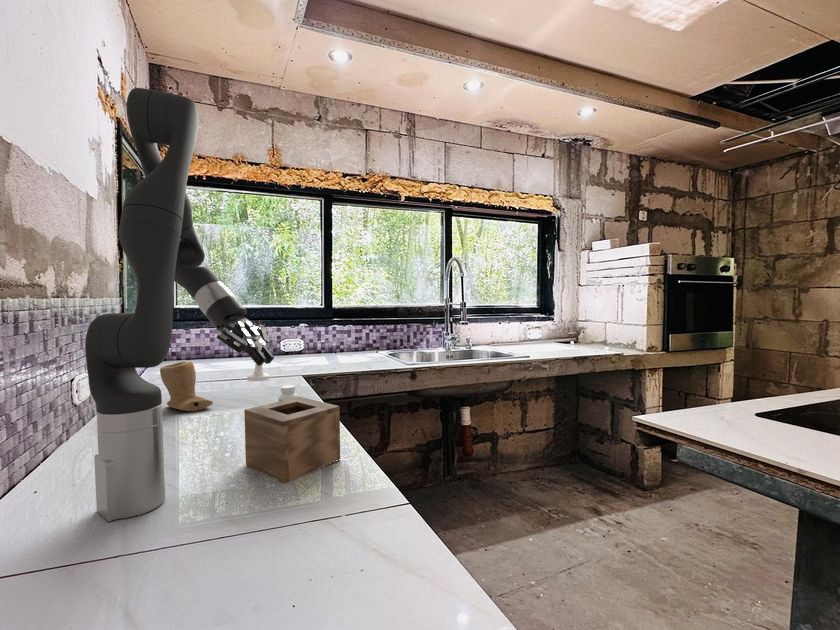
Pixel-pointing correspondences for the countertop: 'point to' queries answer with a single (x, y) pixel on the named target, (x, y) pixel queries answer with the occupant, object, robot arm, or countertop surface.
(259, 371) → the chess piece
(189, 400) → the tan fabric boot shape
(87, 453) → the countertop surface
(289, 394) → the supplement bottle
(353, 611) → the countertop surface
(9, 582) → the countertop surface
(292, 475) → the walnut box
